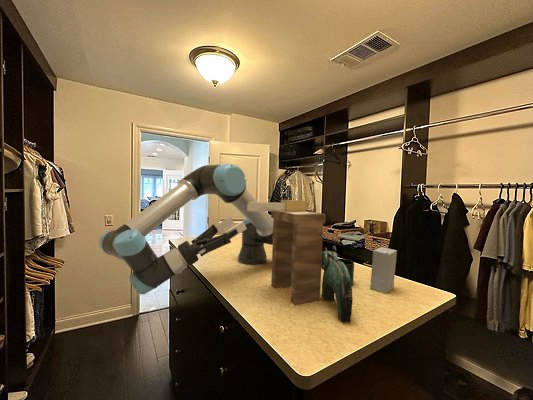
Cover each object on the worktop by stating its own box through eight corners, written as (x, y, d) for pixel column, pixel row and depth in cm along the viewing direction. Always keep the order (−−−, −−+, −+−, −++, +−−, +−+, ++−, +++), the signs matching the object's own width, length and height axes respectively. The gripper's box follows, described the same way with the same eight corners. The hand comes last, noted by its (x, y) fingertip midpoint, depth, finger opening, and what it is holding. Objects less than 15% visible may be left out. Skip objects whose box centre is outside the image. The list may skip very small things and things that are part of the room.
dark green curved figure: (317, 295, 92) (319, 240, 91) (334, 295, 93) (337, 241, 92) (336, 324, 72) (339, 254, 72) (358, 323, 73) (361, 255, 72)
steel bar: (246, 210, 92) (246, 199, 92) (298, 210, 101) (299, 200, 101) (251, 211, 88) (251, 200, 87) (305, 211, 96) (305, 200, 96)
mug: (320, 282, 105) (321, 261, 105) (338, 277, 112) (339, 257, 112) (340, 290, 97) (341, 267, 97) (357, 283, 105) (358, 262, 104)
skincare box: (377, 284, 105) (379, 246, 105) (396, 289, 100) (398, 249, 100) (369, 289, 99) (370, 249, 99) (388, 294, 94) (390, 252, 94)
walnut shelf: (269, 286, 99) (271, 209, 98) (295, 282, 104) (297, 209, 103) (292, 306, 83) (295, 214, 82) (322, 300, 88) (325, 213, 87)
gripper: (183, 256, 93) (232, 226, 100) (194, 279, 71) (256, 237, 78) (173, 239, 91) (223, 210, 99) (180, 257, 69) (245, 217, 76)
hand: (238, 222), depth 88 cm, fingers open, 13 cm apart
